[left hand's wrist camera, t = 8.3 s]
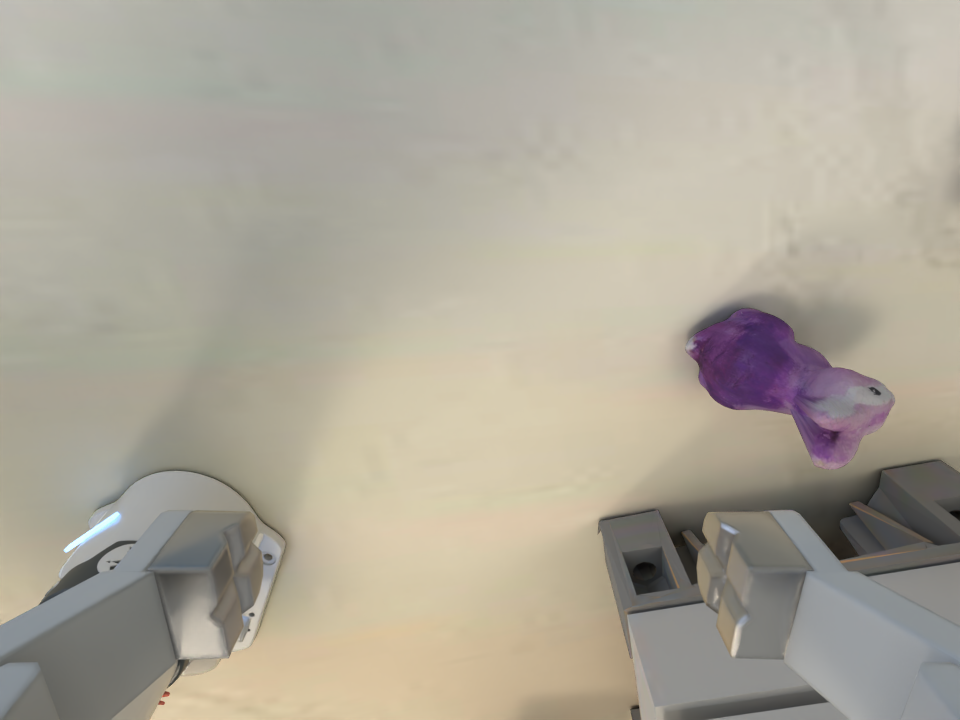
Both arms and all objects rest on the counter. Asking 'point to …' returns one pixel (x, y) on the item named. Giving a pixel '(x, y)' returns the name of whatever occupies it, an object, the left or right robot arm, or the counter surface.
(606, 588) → the counter surface
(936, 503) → the record crate
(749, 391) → the figurine
